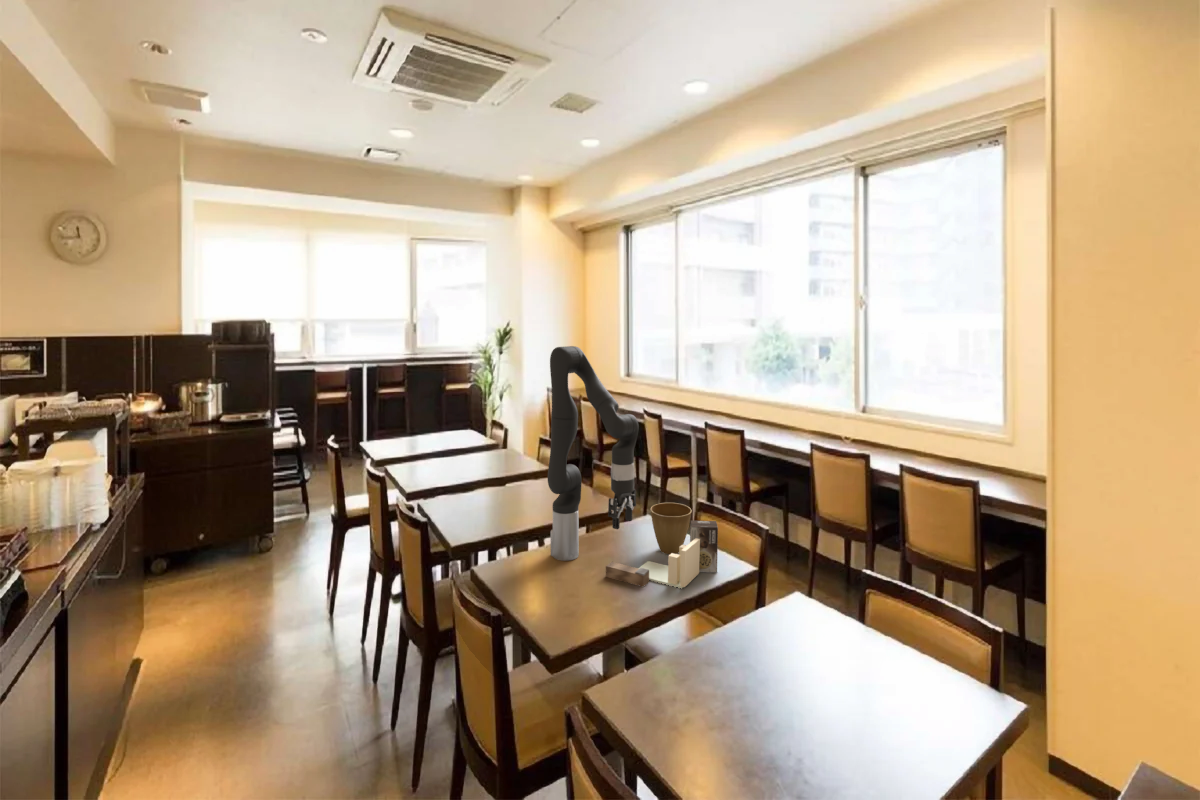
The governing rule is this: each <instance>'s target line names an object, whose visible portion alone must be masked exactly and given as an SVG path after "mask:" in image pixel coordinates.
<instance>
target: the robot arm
mask: <svg viewBox="0 0 1200 800" xmlns="http://www.w3.org/2000/svg"><path fill="white" fill-rule="evenodd" d="M549 369H550V371H549V372H550V373H549V374H550V382H551V415H550V416H551V417H550V418H551V420H550V451H549V452H550V453H549V461H548V468H547V485H548V488H549V489H550V491H551V492H552V493H553V494H555V495H558V497H556V499H554V501H553V502H552V529H551V530H550V556H551V557H552V558H554V559H555V560H558V561H565V562H567V561H573V560H576V559H577V558H579V551H580V550H579V549H580V548H579V546H580V545H579V542H580V541H579V540H580V539H579V532H580V531H579V529H580V528H579V519H580V518H579V507H580V503H581V498H582V473H581V471H580V469H579V468H578V467H577V466H576V465H575V464H572V463H568V464H567V461H568V455H569V452H570V450H571V447H572V446H573V443H574V441H575V439H576V436H577V433H578V428H579V424H578V423H579V412H578V407H577V405H576V403H575V401H574V399H573V397H572V395H571V393H570V388H569V374H575V375H577V376H578V378H580V379H581V381H582V382H583V384H584V388H585V395H586V397H587V400H588V401H589V404H590V405H591V407H593V408H594V410H595V411H596V412H597V414H599V416H600V418H601V421H602V423H603V426H604V428H605V430H606V432H607V433H608V435H610V437H612V438H614V439H619V440H618V442H617V443H616V444H614V445H613V446H612V448H611V467H610V489H611V492H613V493H614V495H613V498H611V497H610V498H608V505H607V506H608V510H607V512H608V513H607V517H609V518H611V519H612V526H611V527H612V529H614V530H619V529H620V516H621V513H622V512H624V508H625V514H624V515H625V521H627V522H632V521H633V510H634V508H635V507H636V506H637V490H636V489H635V464H634V463H635V462H634V460H635V459H634V457H635V455H634V454H635V453H634V451H635V447H636V444H637V440H638V435H639V427H640V426H639V422H638V419H637V418H636V416H635V415H633V414H631V413H626V414H621V415H618V414H617V412H618V411H619V407H620V405H619V402H617V400H616V399H615V398H614V396H613V395H612V394H611V392H610V391H609V390H607V388H606V387H605V385H604V384H603V383H602V381H601V380H600V378H599V376H598V375H597V373H596V372H595V369H594V368H593V366H592V364H591V363H590V361H589V359H588V357H587V356H586V354H585V352H584V351H583V350H582V349H581V348H580V347H578V346H574V345H568V346H557V347H555V348H554V349H553V350H552V351H551V353H550V358H549Z"/></svg>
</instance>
